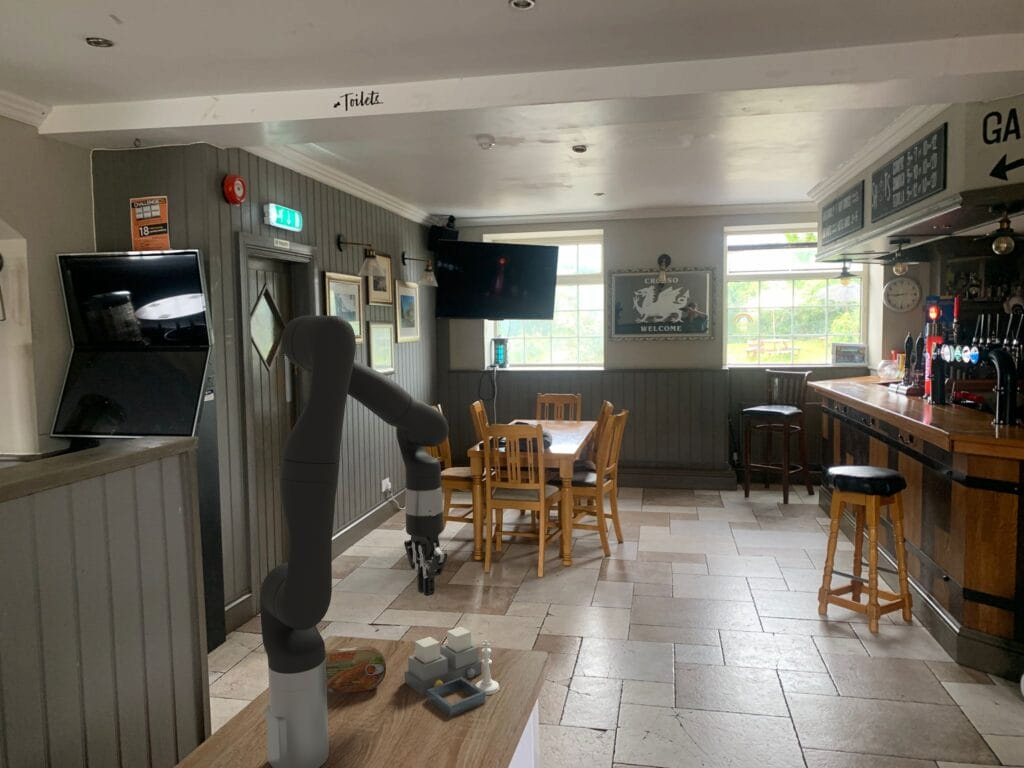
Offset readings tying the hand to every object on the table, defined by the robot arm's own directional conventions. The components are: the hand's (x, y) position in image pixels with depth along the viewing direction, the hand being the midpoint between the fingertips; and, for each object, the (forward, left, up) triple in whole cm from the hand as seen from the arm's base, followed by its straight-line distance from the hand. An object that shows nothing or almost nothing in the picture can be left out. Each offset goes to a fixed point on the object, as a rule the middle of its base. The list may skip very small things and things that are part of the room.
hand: (426, 593), depth 145 cm
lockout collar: (0, -10, -19) cm, 21 cm away
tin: (-14, +8, -19) cm, 25 cm away
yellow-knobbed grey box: (+4, 0, -19) cm, 19 cm away
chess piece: (+8, -10, -19) cm, 23 cm away
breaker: (+8, 0, -14) cm, 16 cm away
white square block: (0, 0, -14) cm, 14 cm away
